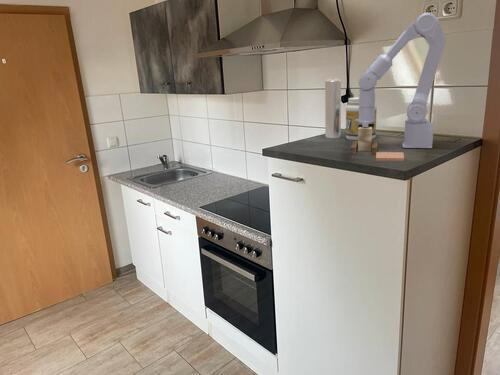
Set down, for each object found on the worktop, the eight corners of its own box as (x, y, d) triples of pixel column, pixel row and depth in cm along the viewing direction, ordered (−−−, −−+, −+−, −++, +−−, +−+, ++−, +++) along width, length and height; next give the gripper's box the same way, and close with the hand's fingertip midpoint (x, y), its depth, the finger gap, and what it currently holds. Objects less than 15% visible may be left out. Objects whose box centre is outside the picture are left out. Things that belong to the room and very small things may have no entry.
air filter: (333, 139, 166) (333, 78, 159) (322, 137, 171) (322, 79, 164) (343, 136, 169) (344, 77, 162) (332, 135, 174) (332, 78, 167)
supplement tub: (341, 137, 168) (342, 98, 163) (368, 135, 169) (369, 96, 164) (351, 142, 156) (352, 99, 151) (380, 139, 157) (382, 97, 152)
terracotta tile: (403, 155, 127) (403, 152, 127) (404, 161, 119) (404, 158, 119) (376, 155, 130) (376, 152, 130) (375, 160, 122) (375, 157, 122)
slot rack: (377, 147, 143) (377, 140, 142) (376, 155, 130) (376, 147, 130) (353, 147, 146) (353, 140, 145) (350, 154, 133) (350, 147, 132)
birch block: (371, 148, 141) (372, 126, 139) (370, 151, 137) (371, 128, 135) (358, 148, 143) (359, 127, 140) (357, 151, 138) (358, 128, 136)
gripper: (357, 105, 150) (356, 140, 154) (354, 109, 137) (353, 147, 140) (376, 105, 147) (374, 140, 151) (374, 108, 134) (373, 147, 138)
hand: (365, 143), depth 146 cm, fingers closed
